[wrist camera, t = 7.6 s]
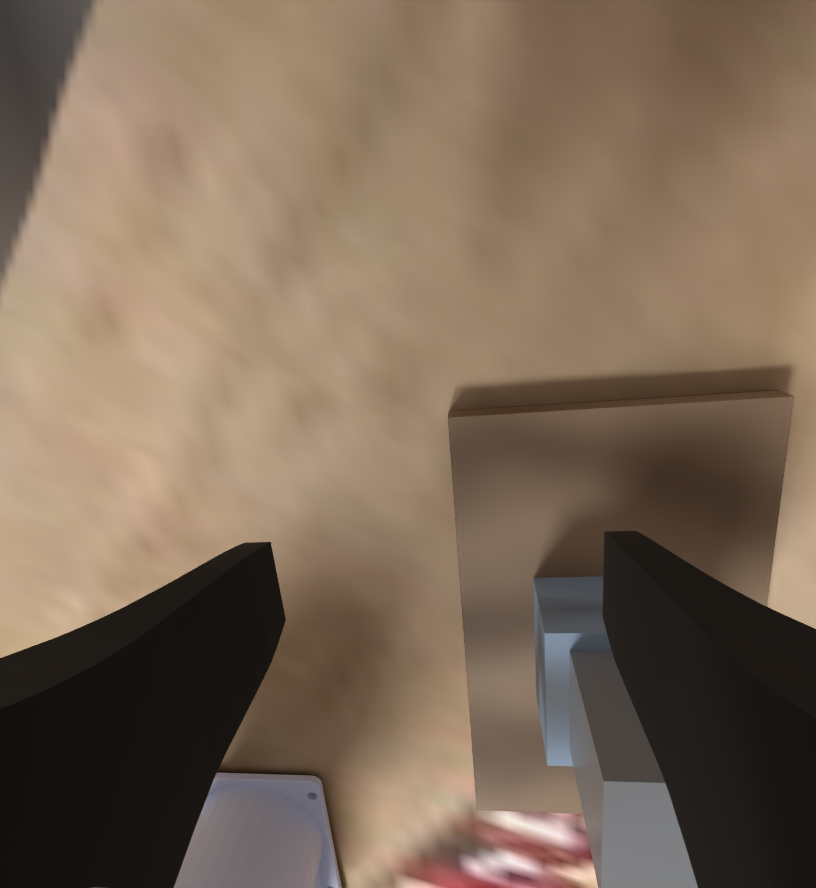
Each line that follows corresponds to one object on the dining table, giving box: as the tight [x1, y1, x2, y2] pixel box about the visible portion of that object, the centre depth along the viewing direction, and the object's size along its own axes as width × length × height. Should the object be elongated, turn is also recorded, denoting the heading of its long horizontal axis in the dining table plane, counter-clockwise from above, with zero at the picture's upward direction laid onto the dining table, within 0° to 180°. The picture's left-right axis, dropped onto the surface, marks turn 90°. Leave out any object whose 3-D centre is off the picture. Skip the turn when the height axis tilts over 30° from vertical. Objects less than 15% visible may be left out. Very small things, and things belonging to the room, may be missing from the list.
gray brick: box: [570, 650, 698, 888], centre depth 16 cm, size 4×4×5 cm
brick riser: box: [448, 390, 794, 814], centre depth 21 cm, size 20×12×4 cm, turn 5°
